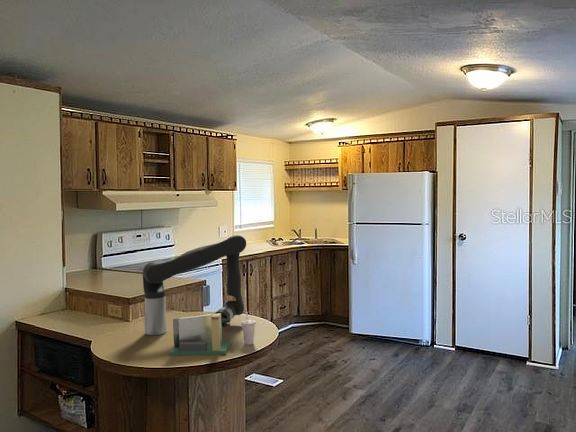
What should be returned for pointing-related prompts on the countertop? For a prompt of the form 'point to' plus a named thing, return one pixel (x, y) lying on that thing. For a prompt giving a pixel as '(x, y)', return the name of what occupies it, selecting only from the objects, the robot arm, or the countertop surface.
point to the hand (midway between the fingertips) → (210, 328)
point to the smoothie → (248, 330)
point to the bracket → (205, 343)
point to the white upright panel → (193, 329)
